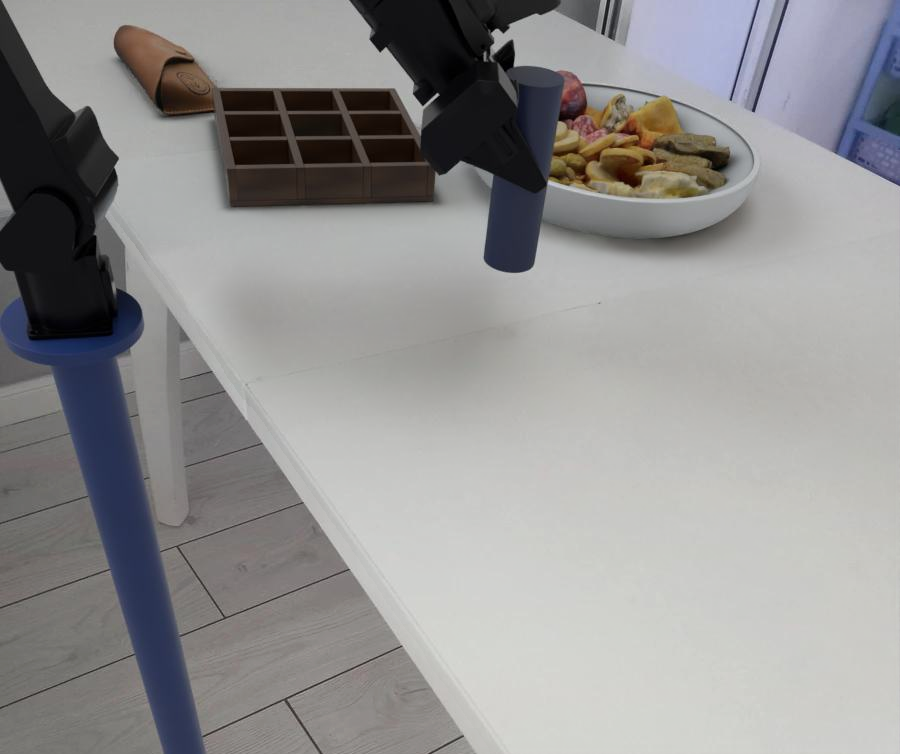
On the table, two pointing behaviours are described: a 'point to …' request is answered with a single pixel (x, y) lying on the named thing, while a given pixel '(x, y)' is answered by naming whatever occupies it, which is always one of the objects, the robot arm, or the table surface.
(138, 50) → the sunglasses case
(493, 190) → the navy round peg
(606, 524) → the table surface
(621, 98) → the bowl
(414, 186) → the grid
